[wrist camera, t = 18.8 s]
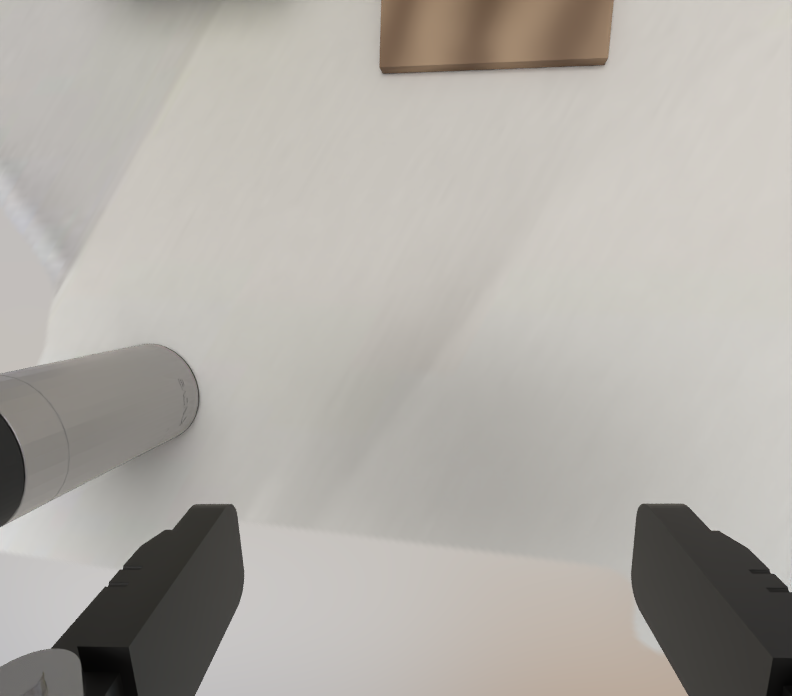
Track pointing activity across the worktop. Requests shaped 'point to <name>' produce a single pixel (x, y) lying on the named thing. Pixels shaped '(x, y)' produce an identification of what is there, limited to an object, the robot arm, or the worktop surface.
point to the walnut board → (492, 34)
